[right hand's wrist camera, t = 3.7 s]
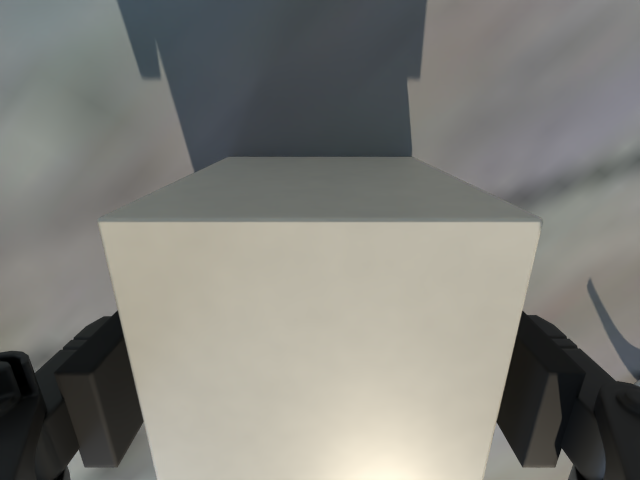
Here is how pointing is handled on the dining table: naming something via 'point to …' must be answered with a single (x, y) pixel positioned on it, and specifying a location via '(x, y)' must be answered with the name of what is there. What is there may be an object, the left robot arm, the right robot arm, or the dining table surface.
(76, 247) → the dining table surface
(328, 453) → the block
